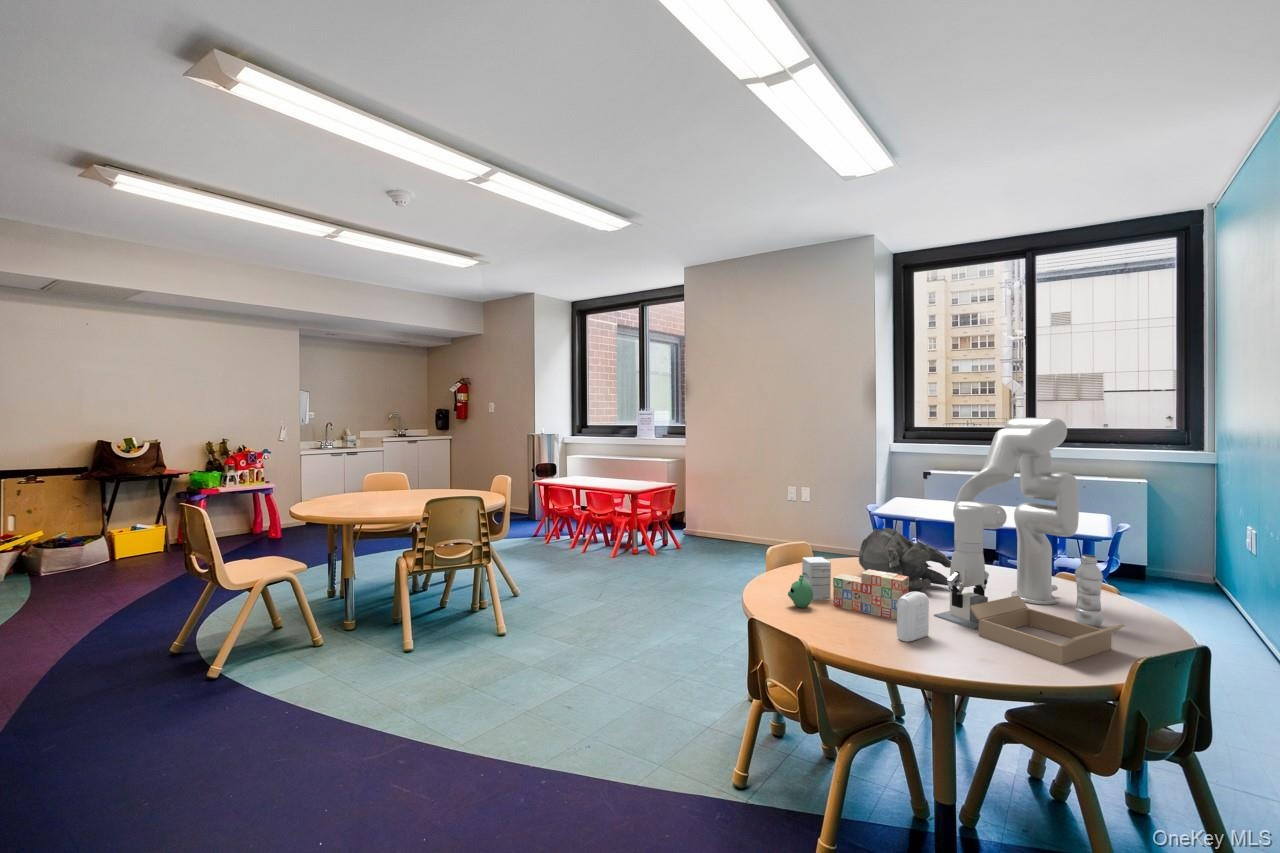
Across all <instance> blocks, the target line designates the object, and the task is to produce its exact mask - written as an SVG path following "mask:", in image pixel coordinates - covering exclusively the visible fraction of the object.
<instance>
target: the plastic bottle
mask: <svg viewBox="0 0 1280 853" xmlns="http://www.w3.org/2000/svg"><path fill="white" fill-rule="evenodd" d="M1080 562H1081V564H1080V565H1079V566H1078V567H1077V568H1076V569H1075V571H1074V577H1075V584H1076V591H1077V592H1076V595H1077V596H1076V605H1075V608H1074V619H1075V622H1078V623H1082V624H1085V625H1089V626H1092V627H1096V628H1098V627H1100V626H1102V624H1103V622H1104V615H1103V611H1102V603H1101V594H1102V592H1101V591H1102V585H1103V579H1104V574H1103V572H1102V571H1101V570H1100V568H1099V567H1098V556H1096V555H1093V554H1092V555H1091V554H1081V556H1080Z"/></svg>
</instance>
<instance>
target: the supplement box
mask: <svg viewBox="0 0 1280 853" xmlns="http://www.w3.org/2000/svg"><path fill="white" fill-rule="evenodd" d="M801 561H802V565H801V567H802V571H801V572H802V573H801V575H803V576H804V577H803V579H804V580H803V581H806V582H808V583H809V584H810V586H811V588H812V591H813V598H812V601H828V600H827V599H830V600H831V598H832V597H831V590H832V589H831V586H832V585H831V582H832V581H831V578H832V576H831V575H832V574H831V573H832V570H831V569H832V564H831V561H829V560H827V559H826V558H825V557H823V556H809V557H808V556H806V557H802V560H801Z"/></svg>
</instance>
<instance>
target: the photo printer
mask: <svg viewBox="0 0 1280 853" xmlns="http://www.w3.org/2000/svg"><path fill="white" fill-rule="evenodd" d="M929 602H930V599H929V597H928V595H927V594H926V593H925V592H921V591H910V592H909V593H907V594H905V595H903V596H902V597H901V598H900V599H899V600H898V603H897V620H896V637H897V639H898V640H900V641H903V642H914V641H916V640H919V639H922V638H925V637H927V636H928V635H929V632H930V631H929V628H930V626H929V625H930V624H929V623H930V622H929V619H930V618H929V617H930V615H929V614H930V612H929V611H930V610H929V608H930V603H929Z"/></svg>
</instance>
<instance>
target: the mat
mask: <svg viewBox="0 0 1280 853" xmlns="http://www.w3.org/2000/svg"><path fill="white" fill-rule="evenodd" d="M933 616H934V617H937V618H939V619H942V620H945V621H948V622H951V623H953V624H958V625H960V626H963V627H966V628H968V629H972V630H976V629H978V630H979V623H975V622H972V621H969V620H966V619H963V618H960V617H957V616H954V615H951V614H950V610H948V611H944V612H939V613H935V614H933Z"/></svg>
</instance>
